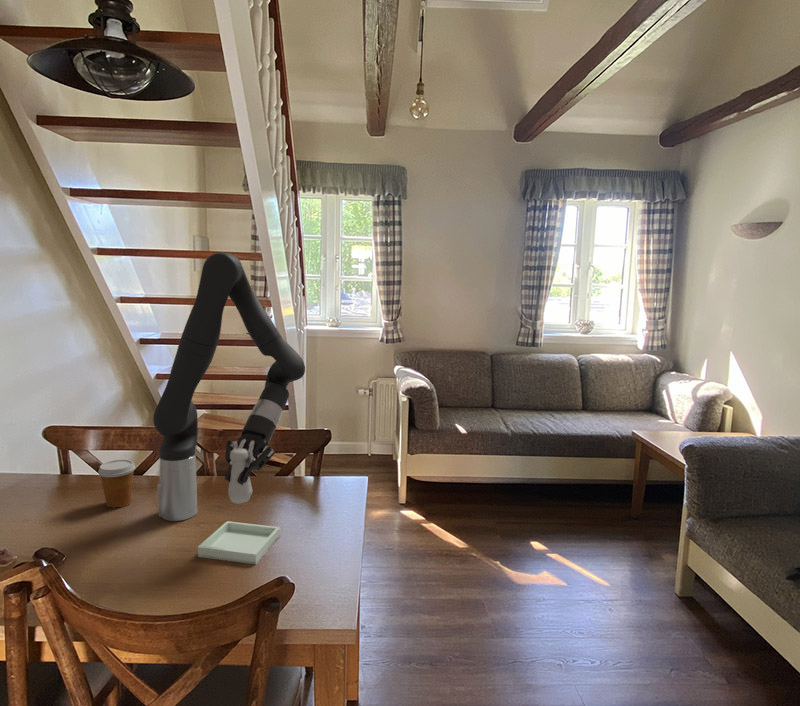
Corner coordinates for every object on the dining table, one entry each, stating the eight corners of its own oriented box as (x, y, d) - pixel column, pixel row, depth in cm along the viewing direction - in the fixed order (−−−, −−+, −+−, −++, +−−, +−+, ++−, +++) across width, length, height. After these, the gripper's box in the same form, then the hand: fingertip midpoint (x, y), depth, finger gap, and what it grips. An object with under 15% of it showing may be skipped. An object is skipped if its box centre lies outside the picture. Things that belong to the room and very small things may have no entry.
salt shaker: (257, 497, 133) (256, 447, 131) (243, 506, 128) (242, 455, 126) (237, 493, 135) (236, 444, 133) (223, 502, 130) (221, 451, 128)
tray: (197, 556, 127) (197, 547, 127) (227, 529, 141) (227, 521, 141) (256, 564, 125) (255, 554, 124) (280, 536, 138) (280, 527, 138)
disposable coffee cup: (112, 513, 149) (109, 472, 147) (93, 505, 154) (91, 465, 152) (143, 502, 157) (142, 463, 155) (125, 494, 162) (123, 456, 160)
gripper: (234, 410, 138) (202, 471, 128) (280, 416, 133) (251, 480, 123) (247, 424, 143) (218, 484, 134) (292, 431, 138) (265, 493, 129)
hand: (234, 481), depth 129 cm, fingers closed on salt shaker, 3 cm apart
